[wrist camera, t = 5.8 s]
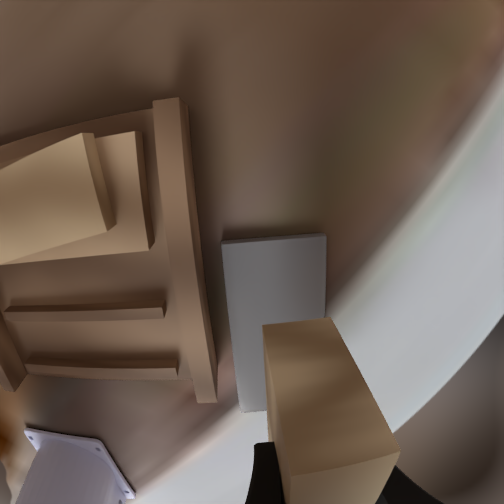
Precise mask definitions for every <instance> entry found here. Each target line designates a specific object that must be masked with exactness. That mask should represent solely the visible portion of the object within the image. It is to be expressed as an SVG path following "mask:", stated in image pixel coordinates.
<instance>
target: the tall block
mask: <svg viewBox="0 0 504 504" xmlns="http://www.w3.org/2000/svg"><path fill="white" fill-rule="evenodd" d="M262 334H263V351H264V368H265V385H266V403H267V421H268V439H269V442H273V441H274V443H275V448H276V453H277V458H278V463H279V472H280V492H281V504H375V503H376V501H377V499H378V497H379V495H380V493H381V492H382V490H383V488H384V486H385V484H386V482H387V480H388V478H389V476H390V474H391V472H392V470H393V468H394V466H395V463H396V461H397V459H398V457H399V455H400V452H401V450H400V448H399V446H398V444H397V442H396V440H395V438H394V436H393V434H392V432H391V430H390V428H389V426H388V424H387V422H386V420H385V418H384V416H383V414H382V412H381V410H380V409H379V407H378V405H377V403H376V401H375V399H374V397H373V395H372V393H371V391H370V389H369V387H368V386H367V384H366V382H365V380H364V378H363V376H362V374H361V372H360V370H359V369H358V367H357V365H356V363H355V361H354V359H353V357H352V356H351V354H350V352H349V350H348V348H347V346H346V345H345V343H344V341H343V339H342V337H341V335H340V334H339V332H338V330H337V328H336V326H335V324H334V323H333V321H332V319H331V317H326V318H319V319H310V320H302V321H294V322H285V323H275V324H265V325H262Z"/></svg>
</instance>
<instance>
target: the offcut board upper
mask: <svg viewBox="0 0 504 504" xmlns="http://www.w3.org/2000/svg"><path fill="white" fill-rule="evenodd" d="M115 225H117V224H116V221H115V217H114V214H113V210H112V207H111V203H110V199H109V196H108V192H107V188H106V184H105V180H104V176H103V172H102V168H101V164H100V160H99V156H98V151H97V147H96V142H95V138H94V133H80V134H77V135H75V136H72V137H70V138H67V139H65V140H63V141H60V142H58V143H55V144H53V145H51V146H49V147H46V148H44V149H42V150H40V151H38V152H35V153H33V154H31V155H29V156H27V157H25V158H23V159H21V160H19V161H17V162H15V163H13V164H11V165H9V166H7V167H5V168H3V169H1V170H0V264H2V263H6V262H9V261H12V260H15V259H18V258H21V257H24V256H27V255H30V254H33V253H37V252H40V251H43V250H46V249H50V248H53V247H56V246H60V245H63V244H66V243H70V242H73V241H77V240H80V239H83V238H87V237H90V236H94V235H98V234H101V233H105V232H108V231H109V230H110V229H111V228H113V227H114V226H115Z"/></svg>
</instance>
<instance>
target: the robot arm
mask: <svg viewBox="0 0 504 504" xmlns="http://www.w3.org/2000/svg"><path fill="white" fill-rule="evenodd" d="M24 433H25V434H26V436H27V437H28V439H29V440H30V442H31V443H32V444H33V446H34V447H35V449H36V450H37V451H38V452H37V454H36V456H35V458H34V460H33V463H32V465H31V467H30V469H29V472H28V474H27V476H26V479H25V481H24V484H23V486H22V488H21V491H20V493H19V496H18V498H17V501H16V503H15V504H125V502H126V498H129V499H134V498H135V497H136V494H135V493H134V492H133V490H132V489H131V487H130V486H129V484H128V483H127V481H126V480H125V478H124V477H123V475H122V474H121V472H120V471H119V469H118V468H117V466H116V465H115V463H114V461H113V460H112V458H111V456H110V455H109V453H108V452H107V450H106V448H105V446H104V445H103V443H102V442H101V441H100V440H98V439H93V438H85V437H77V436H70V435H64V434H58V433H52V432H47V431H41V430H36V429H31V428H25V430H24ZM245 504H281V492H280V472H279V463H278V458H277V453H276V448H275V443H274V441H273V442H264V443H257V444H255V445H254V464H253V471H252V477H251V482H250V486H249V491H248V495H247V499H246V502H245ZM375 504H444V503H442V502H441V501H439V500H438V499H436V498H434V497H433V496H432V495H430V494H428V493H427V492H426V491H425V490H423V489H422V488H421V487H419V486H418V485H417V484H416V483H414V482H413V481H412V480H411V479H410V478H409V477H407V476H406V475H405V474H404V473H403V472H402V471H401V470H400V469H399V468H398V467H397V466H396V465H395V466H394V468H393V470H392V472H391V474H390V476H389V478H388V480H387V482H386V484H385V486H384V488H383V490H382V492H381V493H380V495H379V497H378V499H377V501H376V503H375Z"/></svg>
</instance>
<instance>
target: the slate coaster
mask: <svg viewBox="0 0 504 504" xmlns="http://www.w3.org/2000/svg"><path fill="white" fill-rule="evenodd" d="M221 249H222V259H223V269H224V279H225V288H226V297H227V307H228V316H229V324H230V333H231V342H232V350H233V358H234V367H235V375H236V383H237V390H238V398H239V406H240V413H246V412H257V411H266V410H267V403H266V385H265V368H264V351H263V334H262V325H265V324H275V323H285V322H294V321H302V320H310V319H319V318H325V294H326V235H325V234H324V233H313V234H300V235H287V236H275V237H263V238H250V239H238V240H226V241H221Z"/></svg>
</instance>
